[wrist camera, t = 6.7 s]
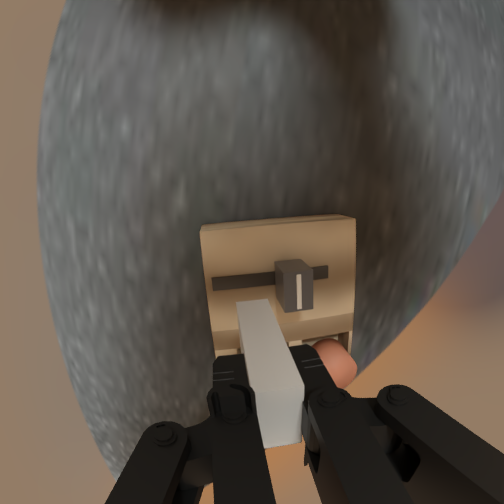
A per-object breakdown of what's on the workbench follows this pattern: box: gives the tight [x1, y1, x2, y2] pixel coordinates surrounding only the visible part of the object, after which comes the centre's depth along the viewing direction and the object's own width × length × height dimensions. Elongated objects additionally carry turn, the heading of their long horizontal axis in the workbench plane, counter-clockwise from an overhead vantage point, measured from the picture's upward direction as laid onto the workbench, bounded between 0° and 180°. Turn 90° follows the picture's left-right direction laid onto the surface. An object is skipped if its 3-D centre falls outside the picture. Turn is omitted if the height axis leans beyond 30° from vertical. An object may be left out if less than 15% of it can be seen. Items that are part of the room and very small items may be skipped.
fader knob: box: [274, 259, 313, 313], centre depth 21 cm, size 3×2×3 cm
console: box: [200, 214, 356, 358], centre depth 25 cm, size 16×12×4 cm
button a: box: [311, 338, 357, 389], centre depth 24 cm, size 4×4×3 cm
